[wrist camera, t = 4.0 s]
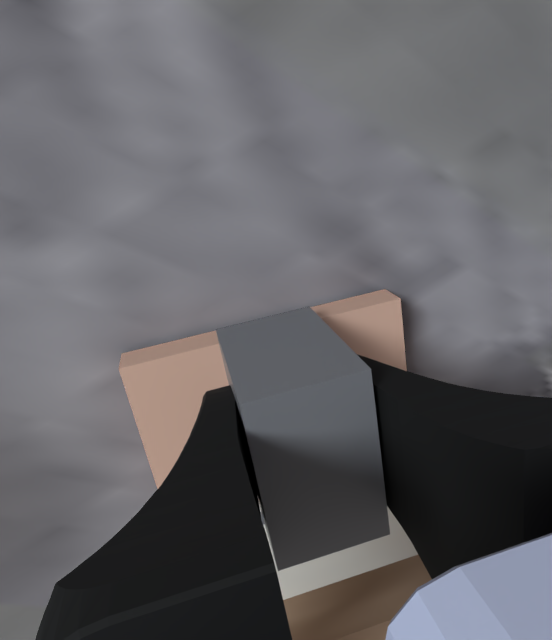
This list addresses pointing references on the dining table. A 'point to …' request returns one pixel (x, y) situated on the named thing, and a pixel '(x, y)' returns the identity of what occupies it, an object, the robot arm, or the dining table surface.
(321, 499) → the grey and peach block
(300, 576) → the board
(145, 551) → the robot arm
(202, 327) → the dining table surface
